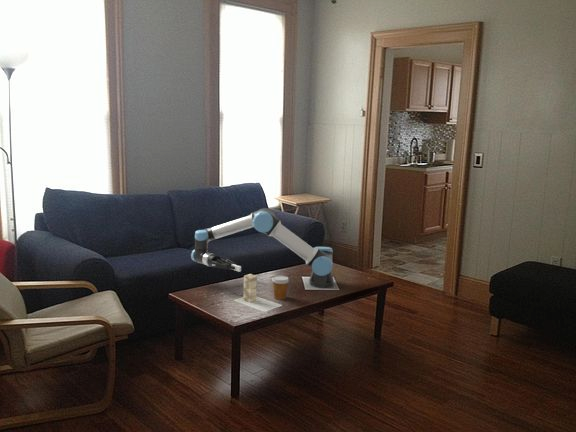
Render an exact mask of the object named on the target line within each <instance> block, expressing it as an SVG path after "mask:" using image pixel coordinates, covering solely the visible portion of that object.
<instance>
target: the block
mask: <svg viewBox="0 0 576 432" xmlns="http://www.w3.org/2000/svg"><path fill="white" fill-rule="evenodd" d="M257 280H258V276H257V275H255V274H252V273H249V274H245V275H243V294H242V295H243V296H242V297H243V300H244V301H247V302H253V301H256V296H257V292H258V291H257V285H258V282H257Z"/></svg>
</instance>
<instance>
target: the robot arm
mask: <svg viewBox="0 0 576 432" xmlns="http://www.w3.org/2000/svg"><path fill="white" fill-rule="evenodd" d="M281 221H282V220H280V219H279V218H278V217H276V214H275V212H274V211H273V210H272V209H271V208H269V207H263V208H260V209H258V210H256V211H253V212H251V213H250V214H249V215H247V216H244V217H243V216H242V217H240V218H237V219H234V220H230V221H227V222H225V223H224V222H223V223H221V224H218V225H215V226H212V227H209V228H204V229H198V230H196V231H195V232H194V249H193V250H192V251H191V254H190V258H191V260H192V261H193V262H195V263H198V264H202V265H204V266H207V267H211V268H214V269H216V268H217V269H220V270H221V269H223V270H226V271H227V270H228V271H231V270H233V271H235V272H238V273H239V272H240V273H241V271H242V266H241V265H237V263H236V262H234V261H232V260H230V259H229V258H227V259H226V260H225V259H224V258H222V257H220V255H219V254H215V253H212V252H208V250H209V248H208V245H209V242H211V241H215V240H218V239H221V238H223V237H226V236H227V237H228V236H229V235H233V234H235V233H240V232H242V231H246V230H248V229H252V228H254V229H255V230H256V231H257V232H259V233H262V234H265V235H266V236H268V237H273V238H274V239H276V240H277V241H279V242H280V243H281V244H282V245H283V246H286V247H287V248H288V249H289V250H290V251H292V252H294V253H295V254H296V255H297V256H299V257H300V258H301V259H303V261H305V264H306V266H308V267H309V268H311V270H312V271H311V274H310V277H309V279H308V281H309V282H308V283H309V285H310V286H312V287H316V288H330V287H333V286H334V285H335V281H334V280H335V279H334V276H333V273H332V270H333V266H334V263H333V254H334V251H333V248H332V247H329V246H315V247H312V246H311V245H309V244H308V243H307V242H306V241H305V240H303V239H301V237H299V236H298V235H297V234H296V233H294V232H292V231H291V230H290V229H289V228H287V227H286V226H285V225H284V224H282V223H281Z"/></svg>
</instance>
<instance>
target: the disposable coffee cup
mask: <svg viewBox="0 0 576 432" xmlns="http://www.w3.org/2000/svg"><path fill="white" fill-rule="evenodd" d="M271 280H272V281H271V282H272V287H273V296H274V299H275V300H279V301H281V300H285V299H286V297H287V291H288V285H289V282H290V280H289V277H288V276H285V275H275V276H272V279H271Z"/></svg>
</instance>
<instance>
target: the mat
mask: <svg viewBox="0 0 576 432" xmlns="http://www.w3.org/2000/svg"><path fill="white" fill-rule="evenodd" d="M233 302H236V303H239V304H241V305H244V306H247V307H249V308H252V309H256V310H258V311H260V312H261V311H262V312H263V313H265V312H268V311H271V310H274V309H277V308H279V307H282V306H283V304H280V303H278V302H274V301H273V300H272V301H271V300H269V299H266V298H263V297H260V296H257V295H256V301H253V302H247V301H244V300H243V296H242V297H239V298H236V299H233Z"/></svg>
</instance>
